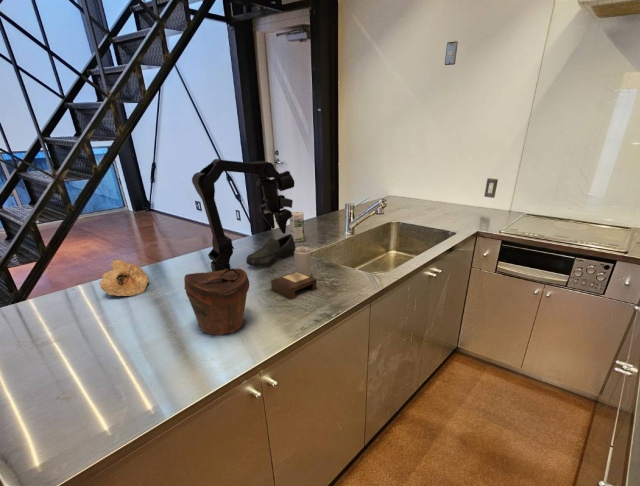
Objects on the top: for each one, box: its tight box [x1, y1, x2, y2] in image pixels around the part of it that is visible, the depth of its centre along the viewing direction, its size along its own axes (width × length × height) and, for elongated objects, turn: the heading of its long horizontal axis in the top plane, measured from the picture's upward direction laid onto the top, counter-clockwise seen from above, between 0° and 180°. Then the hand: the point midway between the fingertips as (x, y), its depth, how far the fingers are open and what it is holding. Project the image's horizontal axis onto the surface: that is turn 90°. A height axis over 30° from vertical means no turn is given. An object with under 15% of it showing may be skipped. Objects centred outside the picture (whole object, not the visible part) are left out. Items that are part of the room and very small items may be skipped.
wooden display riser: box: [270, 271, 317, 300], centre depth 142 cm, size 13×11×4 cm
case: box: [183, 268, 250, 336], centre depth 114 cm, size 18×20×18 cm
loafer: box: [245, 233, 296, 268], centre depth 168 cm, size 10×29×10 cm, turn 152°
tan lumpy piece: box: [98, 259, 150, 297], centre depth 139 cm, size 18×14×8 cm
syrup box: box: [289, 210, 305, 243], centre depth 196 cm, size 6×6×14 cm
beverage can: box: [293, 246, 312, 277], centre depth 152 cm, size 6×6×12 cm
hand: (278, 230), depth 161 cm, fingers open, 9 cm apart
